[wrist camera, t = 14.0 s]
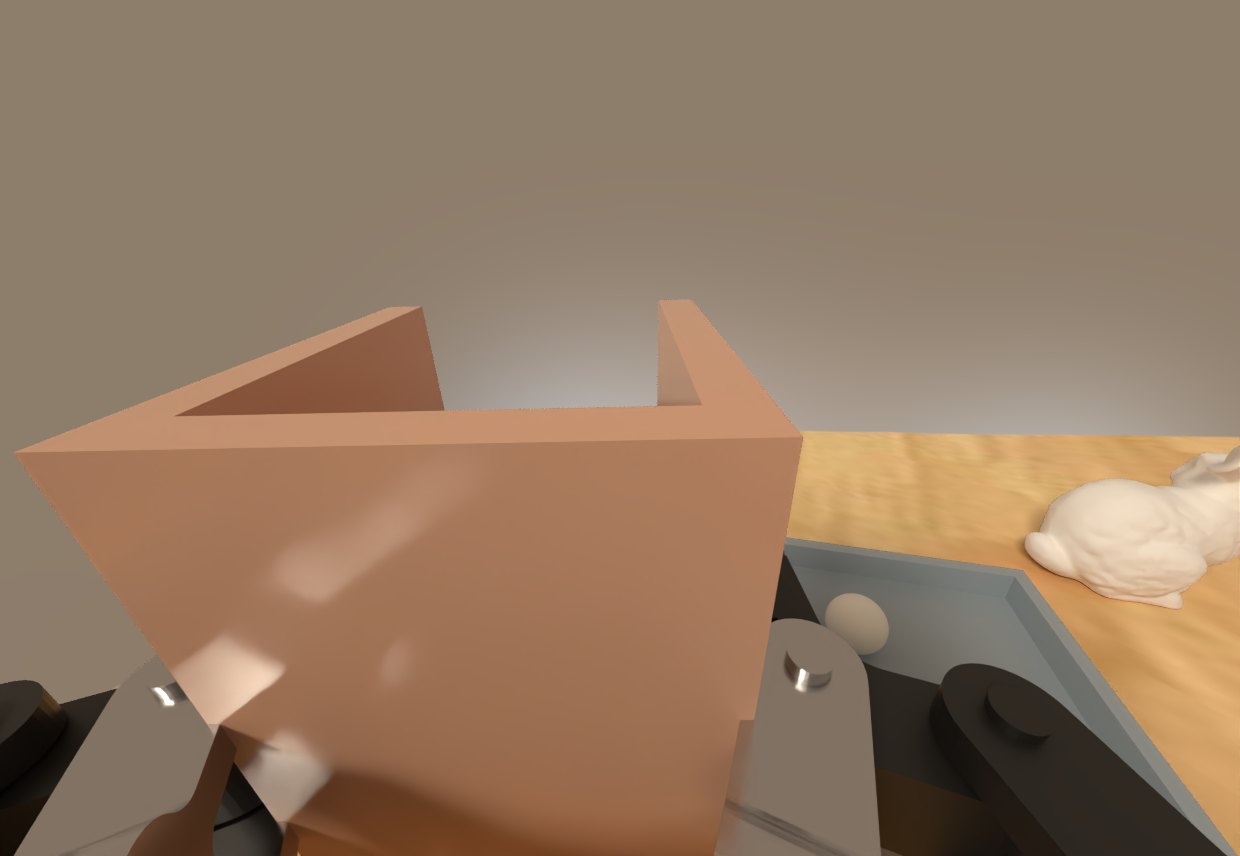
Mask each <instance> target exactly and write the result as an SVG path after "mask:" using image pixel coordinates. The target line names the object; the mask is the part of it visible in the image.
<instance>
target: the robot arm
mask: <svg viewBox="0 0 1240 856" xmlns="http://www.w3.org/2000/svg"><path fill="white" fill-rule="evenodd" d="M236 752H237V748H236V747H235V746H234V744H233V743H232V741H231V740H230V738H229V737H228V735H227V734H226V733H225V731H224V730H223V728H222V727H221V725H220V724H207V723H206V722H205V720H204V719H203V718H202V716H201V715H200V713H199V712H198V711H197V709H196V708H195V706H194V705H193V704H192V702H191V701H190V699H189V698H188V697H187V695H186V694H185V692H184V691H183V690H182V688H181V687H180V685H179V684H178V683H177V681H176V680H175V678H174V677H173V676H172V674H171V673H170V671H169V670H168V669H167V667H166V666H165V664H164V663H163V661H162V660H161V659H160V657H159V656H158V655H156V656H155V657H153V658H152V659H150V660H149V661H147V662H146V663H145V664H144V665H142V666H141V667H139V668H138V669H137V670H136V671H134V672H133V673H132V674H131V675H130V676H129V677H128V678H127V679H126V680H125V681H124V682H123V683H122V684H121V685H120V686H119V687H118V689H114V690H110V691H107V692H103V693H99V694H96V695H92V696H88V697H85V698H81V699H77V700H74V701H70V702H67V703H63V704H58V703H57V702H56V701H55V700H54V699H53V698H52V697H51V695H50V694H49V693H48V692H47V691H46V690H45V689H44V688H43V687H42V686H41V685H40V684H39V683H37V682H34V681H27V680H22V681H13V682H8V683H4V684H0V856H297V852H298V846H299V840H300V839H299V838H298V836H297V835H296V833H295V832H294V831H293V829H292V828H291V826H290V825H289V823H288V822H287V821H276V820H275V819H274V817H273V816H272V814H271V813H270V812H269V810H268V809H267V807H266V806H265V805H264V803H263V802H262V800H261V799H260V798H259V796H258V795H257V793H256V792H255V791H254V789H253V788H252V786H251V785H250V784H249V782H248V781H247V779H246V778H245V777H244V775H243V774H242V772H241V771H240V770H239V768H238V767H237V765H236V764H235V763H234V758H235V755H236ZM880 847H881V848H883V849H886V850H889V851H891V852H894V853H896V854H899V855H902V856H1227V855H1226V854H1225V853H1223V852H1222V851H1221V850H1220V849H1219V848H1218V847H1217V846H1216V845H1215V844H1214V843H1213V842H1211V841H1210V840H1209V839H1208V838H1207V837H1206V836H1205V835H1204V834H1203V833H1202V832H1201V831H1199V830H1198V829H1197V828H1196V827H1195V826H1194V825H1193V824H1192V823H1191V822H1190V821H1189V820H1188V819H1186V818H1185V817H1184V816H1183V815H1182V814H1181V813H1180V812H1179V811H1178V810H1177V809H1176V808H1174V807H1173V806H1172V805H1171V804H1170V803H1169V802H1168V801H1167V800H1166V799H1165V798H1164V797H1162V796H1161V795H1160V794H1159V793H1158V792H1157V791H1156V790H1155V789H1154V788H1153V787H1152V786H1150V785H1149V784H1148V783H1147V782H1146V781H1145V780H1144V779H1143V778H1142V777H1141V776H1140V775H1139V774H1137V773H1136V772H1135V771H1134V770H1133V769H1132V768H1131V767H1130V766H1129V765H1128V764H1127V763H1125V762H1124V761H1123V760H1122V759H1121V758H1120V757H1119V756H1118V755H1117V754H1116V753H1115V752H1113V751H1112V750H1111V749H1110V748H1109V747H1108V746H1107V745H1106V744H1105V743H1104V742H1103V741H1101V740H1100V739H1099V738H1098V737H1097V736H1096V735H1095V734H1094V733H1093V732H1092V731H1091V730H1089V729H1088V728H1087V727H1086V726H1085V725H1084V724H1083V723H1082V722H1081V721H1080V720H1079V719H1078V718H1076V717H1075V716H1074V715H1073V714H1072V713H1071V712H1070V711H1069V710H1068V709H1067V708H1066V707H1064V706H1063V705H1062V704H1061V703H1060V702H1059V701H1057V700H1056V699H1055V698H1054V697H1052V696H1051V695H1050V694H1048V693H1047V692H1046V691H1044V690H1043V689H1041V688H1040V687H1038V686H1036V685H1035V684H1033V683H1032V682H1030V681H1028V680H1026V679H1024V678H1022V677H1020V676H1018V675H1016V674H1014V673H1012V672H1009V671H1007V670H1004V669H1001V668H998V667H994V666H991V665H985V664H978V663H967V664H960V665H957V666H954V667H953V668H951V669H950V670H948V672H947V673H946V674H945V676H944V678H943V680H942V682H941V684H940V685H939V684H935V683H932V682H928V681H924V680H920V679H917V678H913V677H909V676H905V675H902V674H898V673H894V672H890V671H887V670H883V669H880V668H877V667H874V666H872V665H870V664H868V663H865V662H863V661H861V659H860V658H859V656H858V655H857V653H856V652H855V651H854V649H853V648H852V647H851V646H850V645H849V644H848V643H847V642H846V641H845V640H844V639H842V638H841V637H840V636H839V635H837V634H836V633H834V632H833V631H831V630H829V629H828V628H826V627H824V626H822V625H821V624H820V622H819V620H818V618H817V616H816V614H815V612H814V610H813V608H812V606H811V604H810V602H809V600H808V598H807V596H806V594H805V592H804V590H803V588H802V586H801V584H800V582H799V580H798V578H797V576H796V574H795V572H794V570H793V568H792V566H791V564H790V562H789V560H788V558H787V556H785V554H784V551H783V557H782V562H781V568H780V574H779V580H778V585H777V591H776V597H775V603H774V608H773V614H772V620H771V626H770V632H769V637H768V643H767V649H766V655H765V660H764V666H763V672H762V678H761V684H760V689H759V695H758V701H757V707H756V712H755V718H754V720H740V723H739V728H738V733H737V739H736V744H735V750H734V755H733V761H732V766H731V772H730V777H729V783H728V788H727V793H726V798H725V802H724V806H723V810H722V815H721V820H720V825H719V831H718V836H717V841H716V846H715V852H714V856H881V849H880Z"/></svg>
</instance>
